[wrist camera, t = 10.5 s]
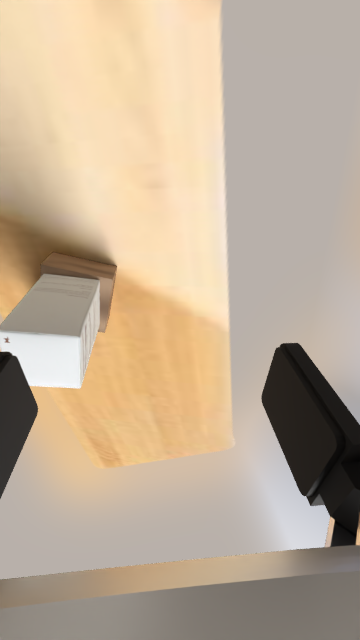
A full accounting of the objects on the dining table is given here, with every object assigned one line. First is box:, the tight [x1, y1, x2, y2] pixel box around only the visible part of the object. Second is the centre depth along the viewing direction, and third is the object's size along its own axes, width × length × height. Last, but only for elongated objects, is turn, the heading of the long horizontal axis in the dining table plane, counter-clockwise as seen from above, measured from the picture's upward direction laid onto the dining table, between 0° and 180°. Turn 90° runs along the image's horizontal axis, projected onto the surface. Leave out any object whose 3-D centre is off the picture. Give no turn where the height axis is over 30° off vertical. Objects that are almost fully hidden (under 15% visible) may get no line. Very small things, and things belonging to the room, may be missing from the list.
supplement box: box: [0, 274, 100, 388], centre depth 31 cm, size 7×7×13 cm
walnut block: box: [41, 252, 117, 333], centre depth 38 cm, size 9×9×5 cm
